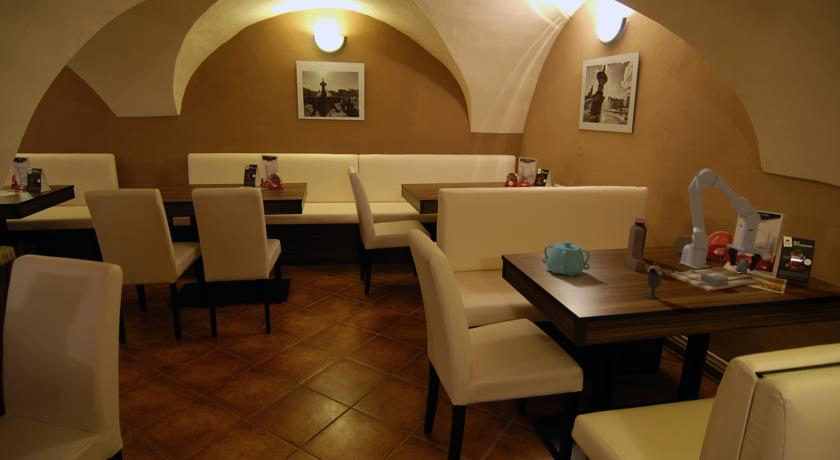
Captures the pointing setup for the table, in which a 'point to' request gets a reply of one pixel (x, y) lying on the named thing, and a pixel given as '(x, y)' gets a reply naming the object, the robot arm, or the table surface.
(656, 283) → the sundae
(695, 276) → the board
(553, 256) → the decorative pot
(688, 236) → the wooden carving
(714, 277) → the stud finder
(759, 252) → the robot arm
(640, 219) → the bottle
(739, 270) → the marker peg
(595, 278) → the table surface
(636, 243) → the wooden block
